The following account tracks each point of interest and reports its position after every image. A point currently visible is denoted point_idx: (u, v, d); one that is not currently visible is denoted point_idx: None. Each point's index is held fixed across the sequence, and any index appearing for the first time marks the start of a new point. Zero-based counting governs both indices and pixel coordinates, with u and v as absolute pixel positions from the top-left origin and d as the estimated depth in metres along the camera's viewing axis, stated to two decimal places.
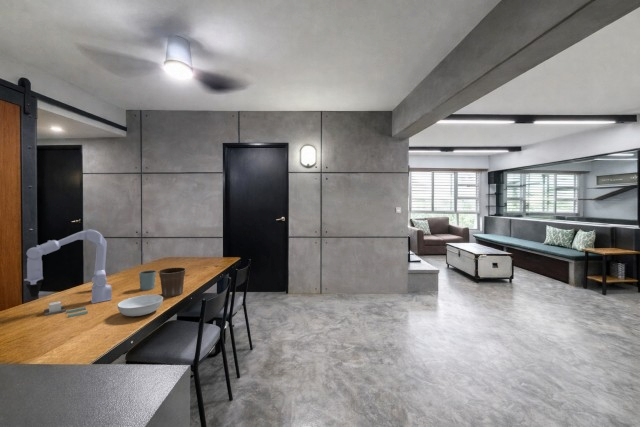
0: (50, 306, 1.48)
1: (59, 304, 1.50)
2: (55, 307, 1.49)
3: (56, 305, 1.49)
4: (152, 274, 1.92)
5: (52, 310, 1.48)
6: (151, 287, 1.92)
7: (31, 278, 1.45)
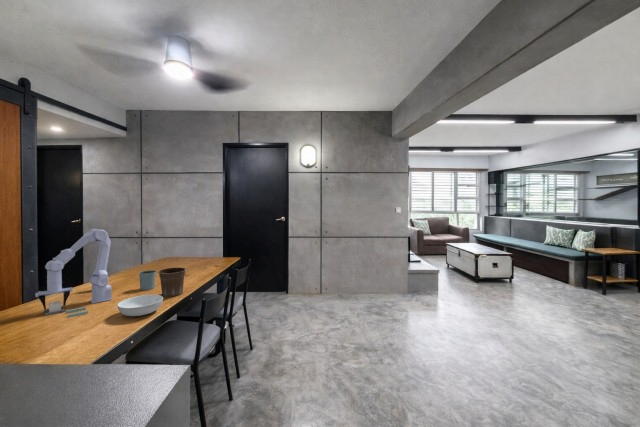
0: (50, 306, 1.48)
1: (59, 304, 1.50)
2: (55, 307, 1.49)
3: (56, 305, 1.49)
4: (152, 274, 1.92)
5: (52, 310, 1.48)
6: (151, 287, 1.92)
7: None
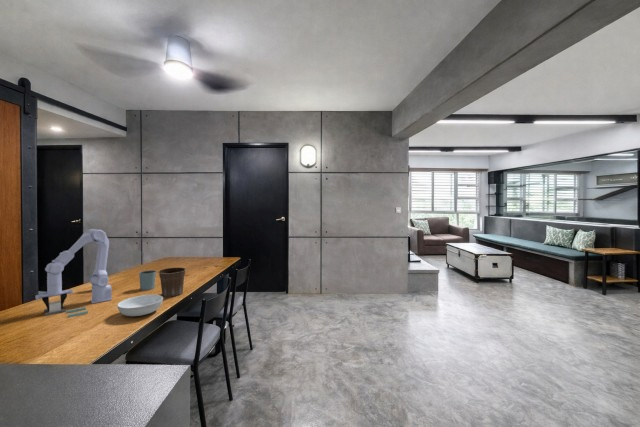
0: (50, 306, 1.48)
1: (59, 304, 1.50)
2: (55, 307, 1.49)
3: (56, 305, 1.49)
4: (152, 274, 1.92)
5: (52, 310, 1.48)
6: (151, 287, 1.92)
7: None
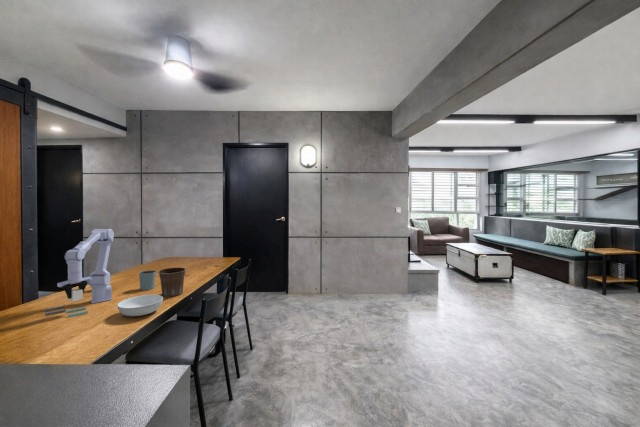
0: (73, 293, 1.46)
1: (81, 291, 1.50)
2: (78, 294, 1.48)
3: (78, 292, 1.48)
4: (152, 274, 1.92)
5: (75, 297, 1.47)
6: (151, 287, 1.92)
7: (67, 280, 1.47)
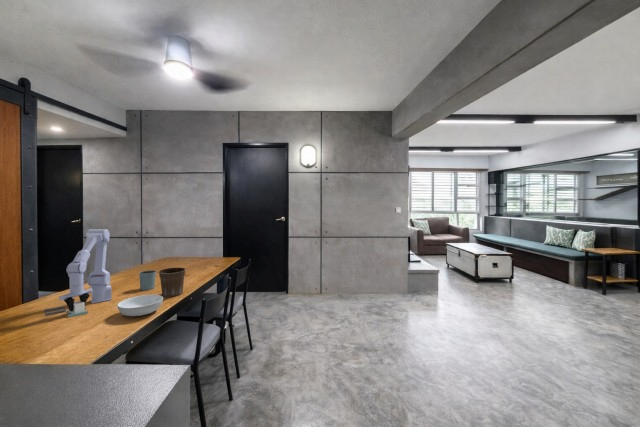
0: (75, 306, 1.46)
1: (83, 303, 1.50)
2: (80, 307, 1.48)
3: (80, 304, 1.49)
4: (152, 274, 1.92)
5: (77, 310, 1.47)
6: (151, 287, 1.92)
7: (69, 293, 1.47)
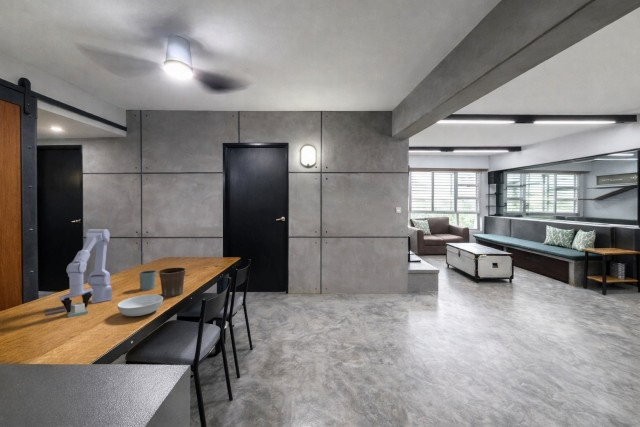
0: (75, 307, 1.47)
1: (83, 304, 1.50)
2: (80, 308, 1.48)
3: (80, 306, 1.49)
4: (152, 274, 1.92)
5: (77, 311, 1.47)
6: (151, 287, 1.92)
7: (69, 293, 1.47)
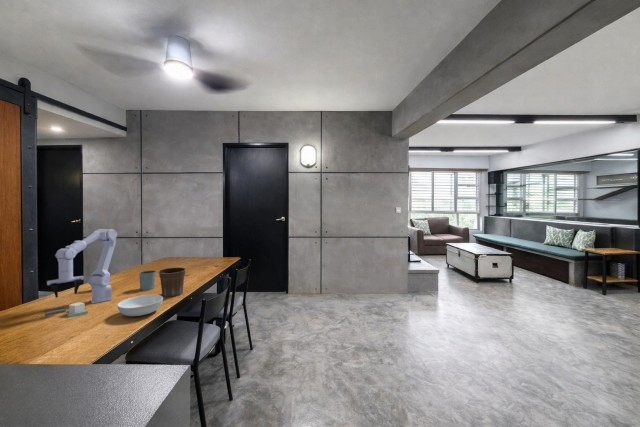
0: (75, 307, 1.47)
1: (83, 304, 1.50)
2: (80, 308, 1.48)
3: (81, 306, 1.49)
4: (152, 274, 1.92)
5: (77, 311, 1.47)
6: (151, 287, 1.92)
7: (59, 278, 1.48)
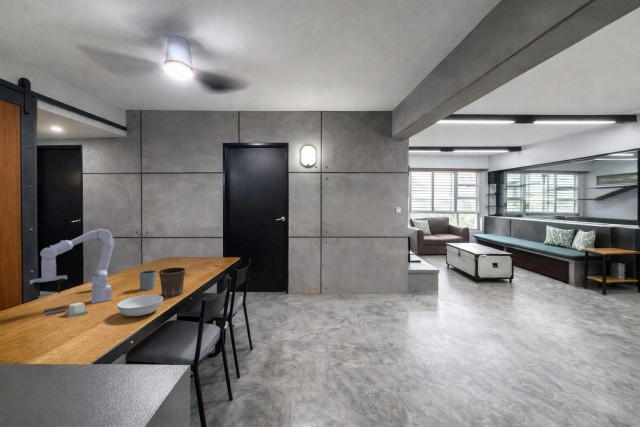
0: (75, 307, 1.47)
1: (83, 304, 1.50)
2: (80, 308, 1.48)
3: (80, 306, 1.49)
4: (152, 274, 1.92)
5: (77, 311, 1.47)
6: (151, 287, 1.92)
7: None
